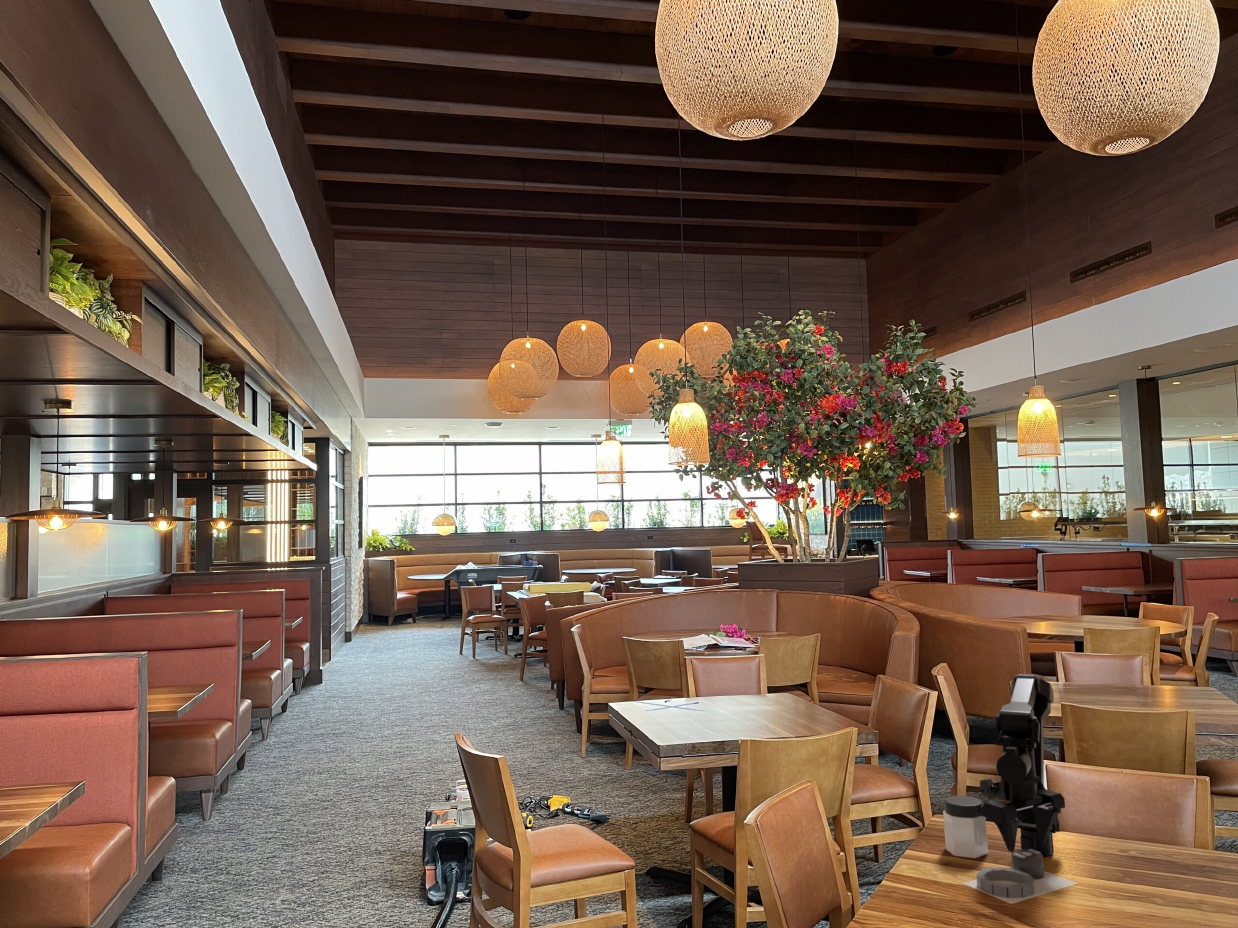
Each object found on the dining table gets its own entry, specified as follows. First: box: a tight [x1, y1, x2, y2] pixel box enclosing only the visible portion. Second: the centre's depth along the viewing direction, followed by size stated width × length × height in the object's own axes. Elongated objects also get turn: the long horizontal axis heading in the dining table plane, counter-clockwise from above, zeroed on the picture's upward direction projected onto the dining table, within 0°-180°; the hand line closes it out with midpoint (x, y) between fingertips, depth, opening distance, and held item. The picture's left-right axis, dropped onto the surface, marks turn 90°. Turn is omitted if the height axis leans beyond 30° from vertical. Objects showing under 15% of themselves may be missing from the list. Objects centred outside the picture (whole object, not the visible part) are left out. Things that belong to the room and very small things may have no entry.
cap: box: [1010, 848, 1045, 879], centre depth 187 cm, size 6×6×4 cm
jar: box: [942, 795, 989, 859], centre depth 202 cm, size 9×8×12 cm
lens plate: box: [962, 867, 1079, 905], centre depth 182 cm, size 19×12×3 cm, turn 116°
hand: (1026, 846), depth 187 cm, fingers open, 9 cm apart
